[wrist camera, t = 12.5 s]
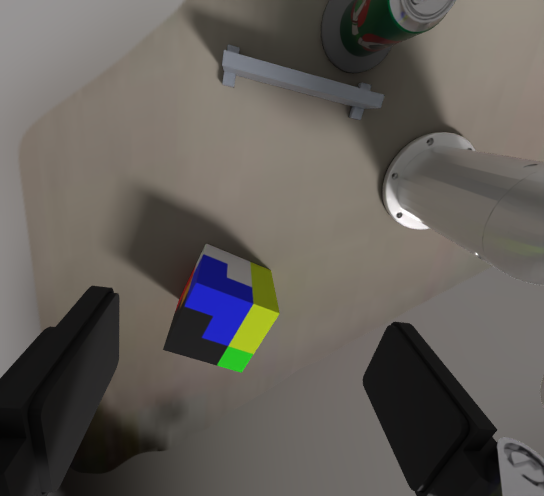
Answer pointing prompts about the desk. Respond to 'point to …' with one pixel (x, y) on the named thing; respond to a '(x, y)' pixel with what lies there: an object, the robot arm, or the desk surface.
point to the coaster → (334, 43)
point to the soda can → (387, 22)
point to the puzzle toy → (223, 310)
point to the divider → (299, 82)
